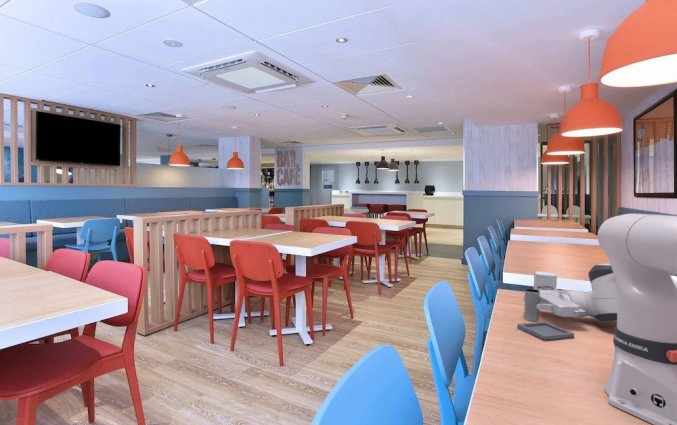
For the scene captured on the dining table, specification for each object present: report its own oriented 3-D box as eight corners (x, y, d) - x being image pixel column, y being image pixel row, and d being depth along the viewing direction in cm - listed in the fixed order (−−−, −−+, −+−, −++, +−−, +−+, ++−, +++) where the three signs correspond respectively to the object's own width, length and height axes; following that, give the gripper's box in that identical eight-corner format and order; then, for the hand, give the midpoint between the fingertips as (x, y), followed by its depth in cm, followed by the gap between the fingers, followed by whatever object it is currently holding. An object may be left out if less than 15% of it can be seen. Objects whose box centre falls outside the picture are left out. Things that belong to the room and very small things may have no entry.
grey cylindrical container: (540, 322, 126) (541, 292, 126) (526, 321, 127) (527, 291, 127) (536, 318, 131) (537, 289, 130) (522, 317, 132) (523, 288, 131)
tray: (574, 338, 112) (574, 333, 112) (544, 341, 109) (544, 336, 109) (545, 325, 122) (545, 321, 122) (517, 328, 120) (517, 323, 120)
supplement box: (534, 305, 147) (535, 273, 146) (532, 300, 153) (534, 270, 153) (556, 307, 144) (557, 275, 143) (553, 302, 150) (554, 272, 150)
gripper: (589, 322, 118) (544, 321, 118) (555, 304, 138) (517, 303, 139) (590, 303, 117) (545, 301, 118) (555, 287, 138) (517, 286, 139)
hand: (530, 302), depth 129 cm, fingers open, 8 cm apart
